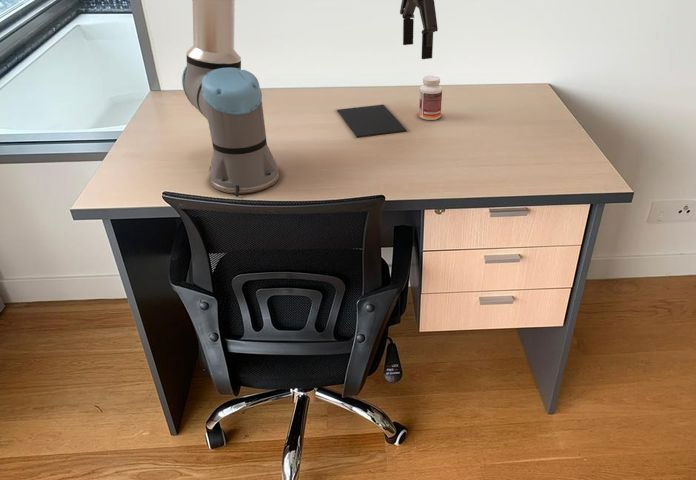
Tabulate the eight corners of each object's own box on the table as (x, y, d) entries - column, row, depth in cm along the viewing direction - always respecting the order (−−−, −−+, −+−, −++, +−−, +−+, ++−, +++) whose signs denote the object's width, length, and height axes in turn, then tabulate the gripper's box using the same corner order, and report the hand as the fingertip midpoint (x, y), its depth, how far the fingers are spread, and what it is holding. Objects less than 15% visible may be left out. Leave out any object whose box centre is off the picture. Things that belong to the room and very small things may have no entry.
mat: (406, 131, 158) (406, 129, 158) (356, 137, 154) (356, 136, 154) (383, 105, 173) (383, 104, 173) (337, 110, 170) (337, 109, 169)
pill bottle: (445, 117, 167) (447, 78, 161) (430, 122, 164) (432, 83, 157) (429, 111, 171) (431, 72, 164) (414, 116, 167) (415, 77, 161)
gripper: (454, -30, 136) (449, 63, 149) (415, -47, 155) (413, 37, 167) (424, -29, 134) (421, 66, 146) (388, -45, 152) (388, 40, 165)
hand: (417, 51), depth 157 cm, fingers open, 13 cm apart
